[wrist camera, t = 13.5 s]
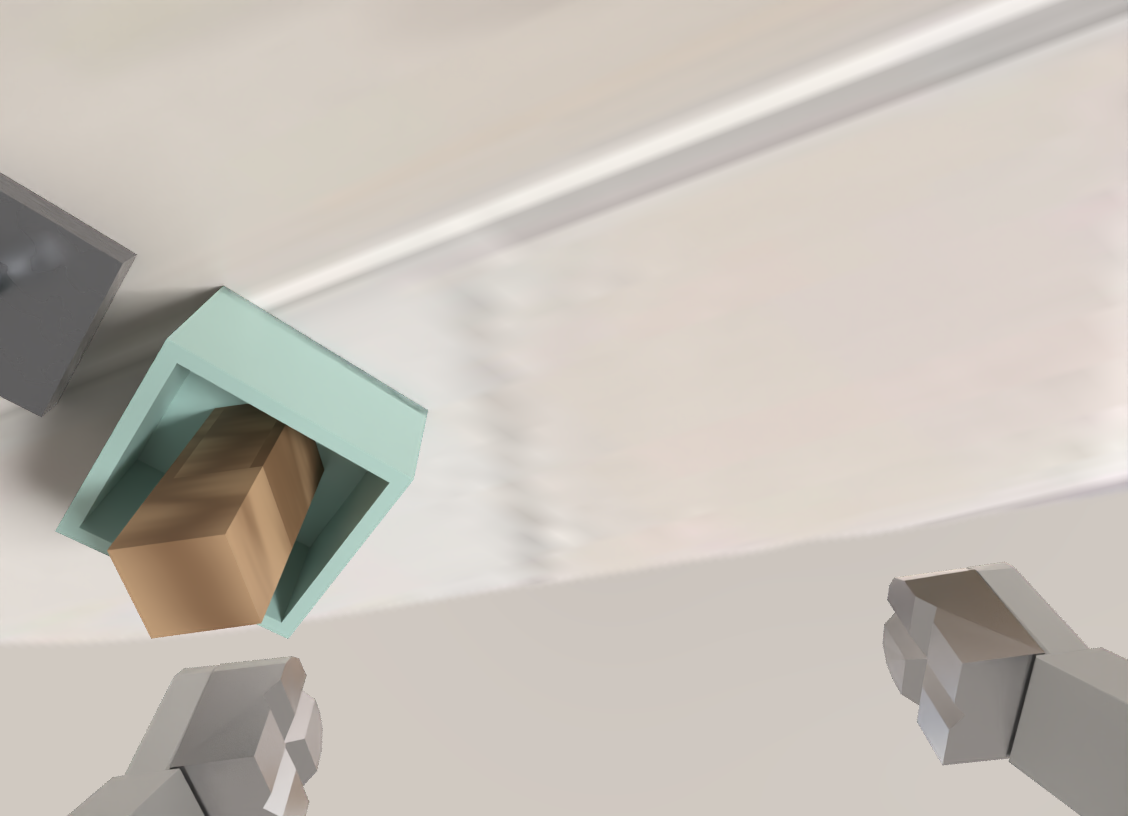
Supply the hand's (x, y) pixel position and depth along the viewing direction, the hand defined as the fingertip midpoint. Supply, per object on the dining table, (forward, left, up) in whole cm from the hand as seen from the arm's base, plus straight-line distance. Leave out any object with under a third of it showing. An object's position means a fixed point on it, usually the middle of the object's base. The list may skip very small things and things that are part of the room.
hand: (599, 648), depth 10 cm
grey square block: (-19, -19, -30) cm, 40 cm away
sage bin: (-4, -19, -30) cm, 35 cm away
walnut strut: (-4, -19, -29) cm, 35 cm away
